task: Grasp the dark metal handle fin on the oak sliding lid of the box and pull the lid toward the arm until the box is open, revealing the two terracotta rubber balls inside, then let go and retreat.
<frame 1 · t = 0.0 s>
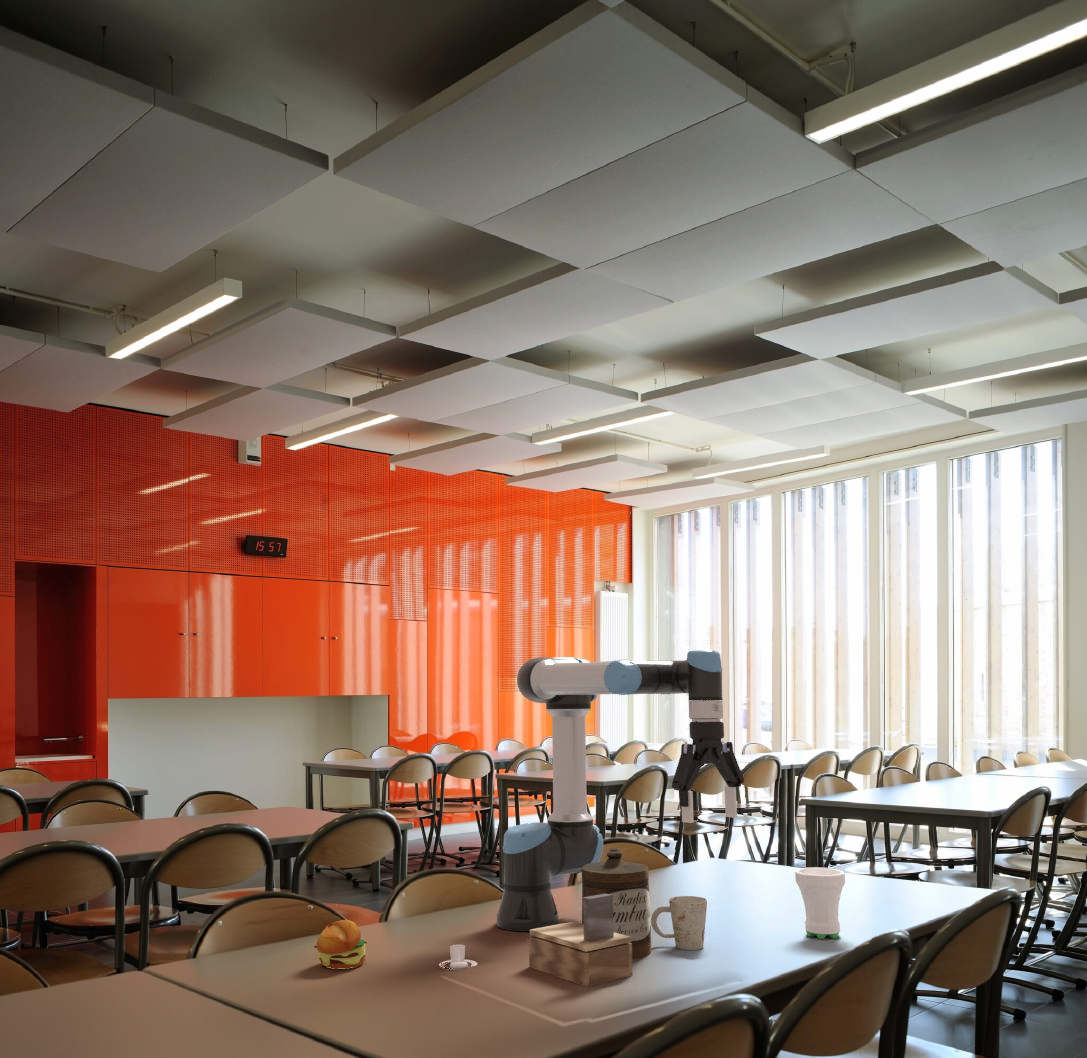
hand: (710, 819, 221), 28 cm above the table, fingers open, 13 cm apart
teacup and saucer: (445, 970, 210), on the table
lid: (579, 915, 206), point 11 cm above the table, slide at 0.0 cm
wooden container: (616, 955, 219), on the table
ball a: (580, 976, 200), point 1 cm above the table, touching box
mug: (679, 947, 225), on the table
cheeseburger: (341, 966, 212), on the table
box: (580, 974, 204), on the table
ball b: (605, 973, 202), point 1 cm above the table, touching box
cup: (823, 936, 233), on the table
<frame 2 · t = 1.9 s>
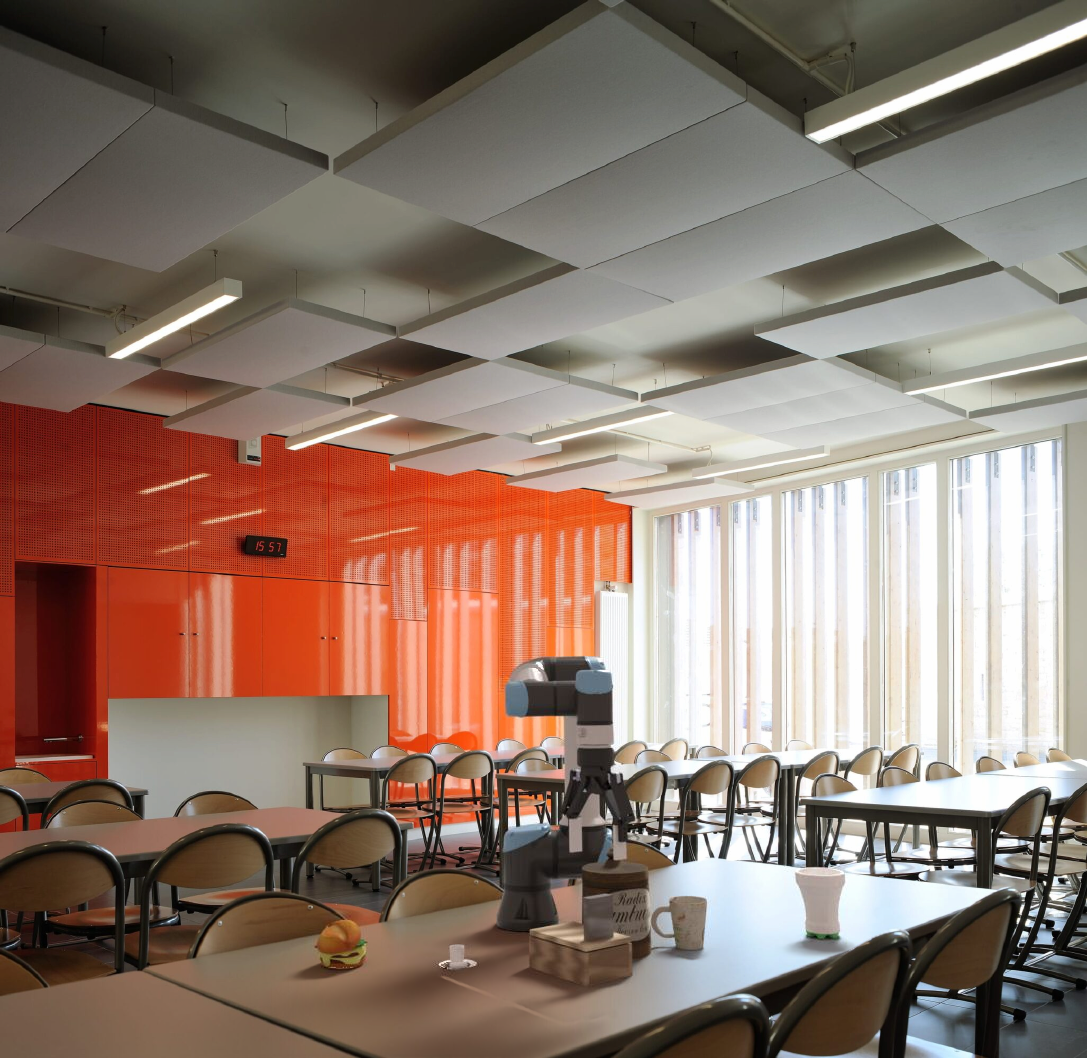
hand: (597, 855, 203), 24 cm above the table, fingers open, 13 cm apart
nothing on the table moved.
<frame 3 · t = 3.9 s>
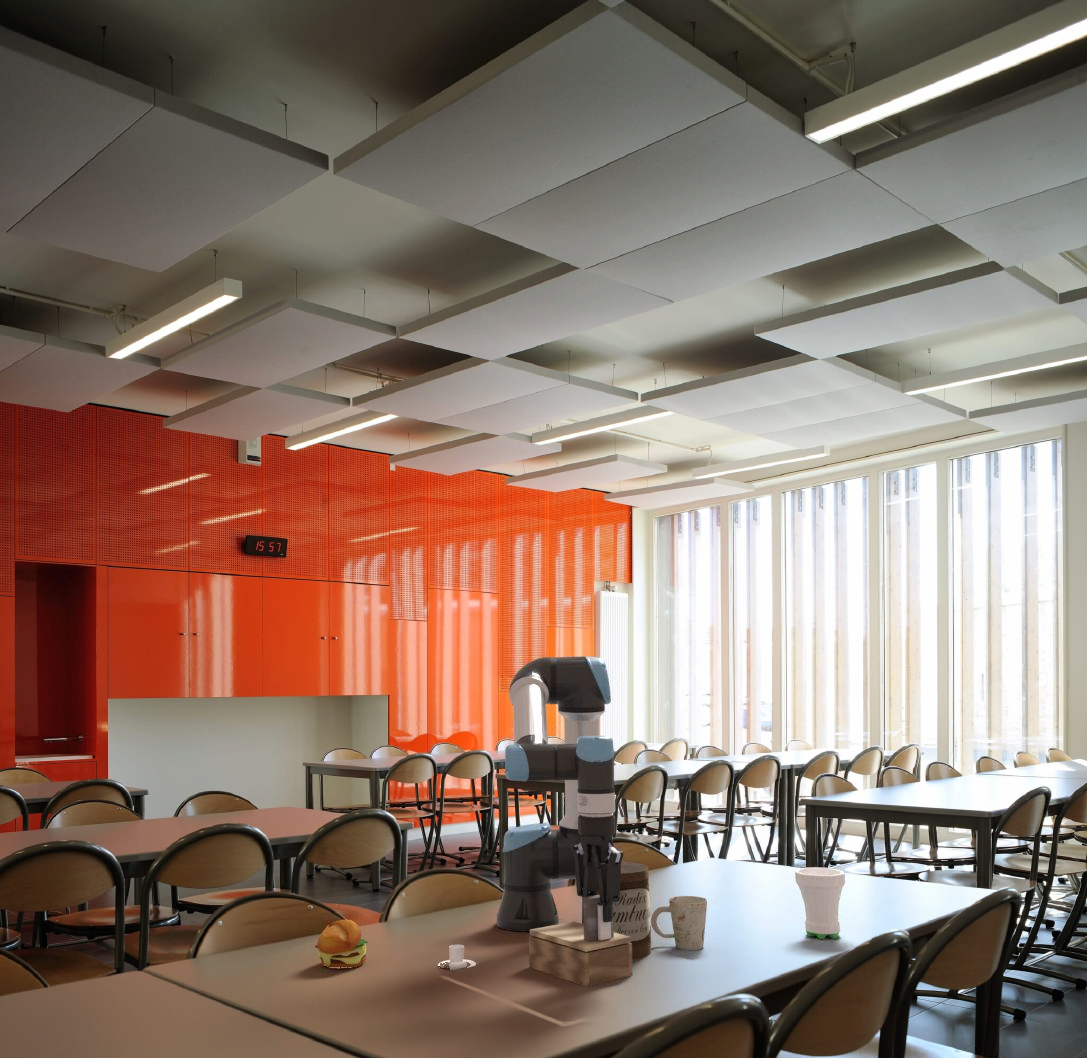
hand: (598, 937, 200), 8 cm above the table, fingers closed on lid, 3 cm apart
lid: (579, 915, 206), point 11 cm above the table, slide at 0.0 cm, touching gripper
everything else where it was.
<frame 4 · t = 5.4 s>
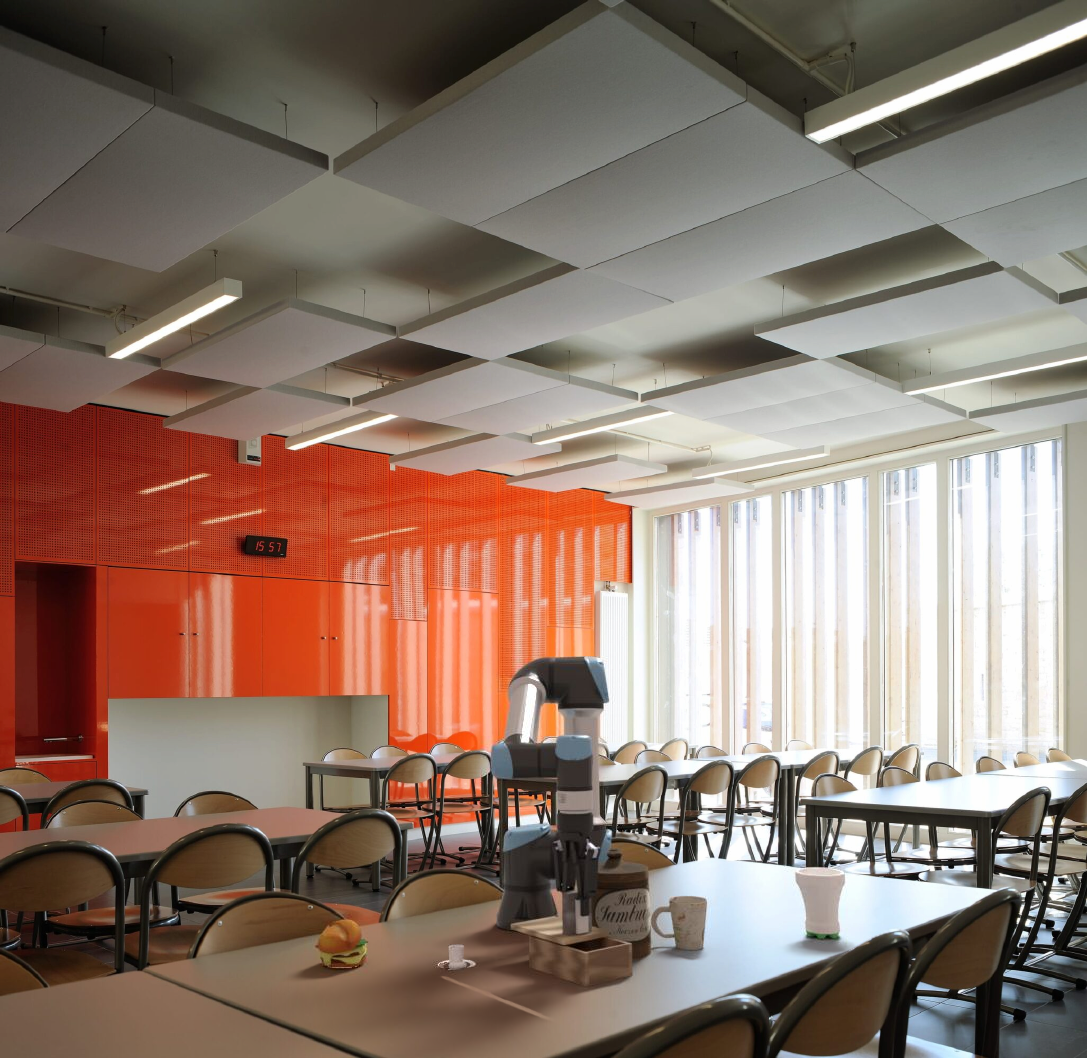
hand: (576, 930, 206), 8 cm above the table, fingers closed on lid, 3 cm apart
lid: (558, 909, 211), point 11 cm above the table, slide at 6.7 cm, touching gripper
everything else where it was.
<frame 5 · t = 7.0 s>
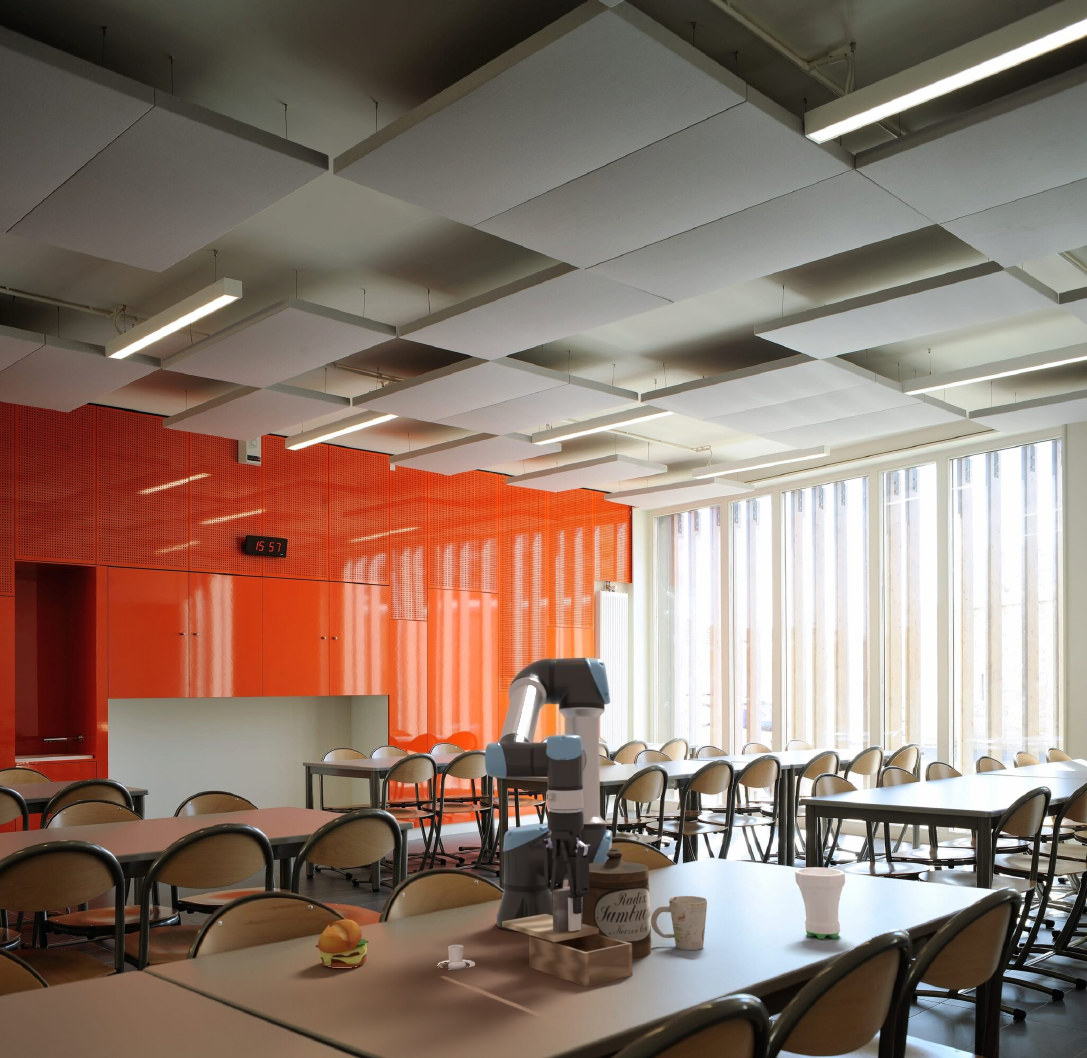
hand: (567, 927, 208), 8 cm above the table, fingers open, 4 cm apart
lid: (549, 907, 213), point 11 cm above the table, slide at 9.8 cm
everything else where it was.
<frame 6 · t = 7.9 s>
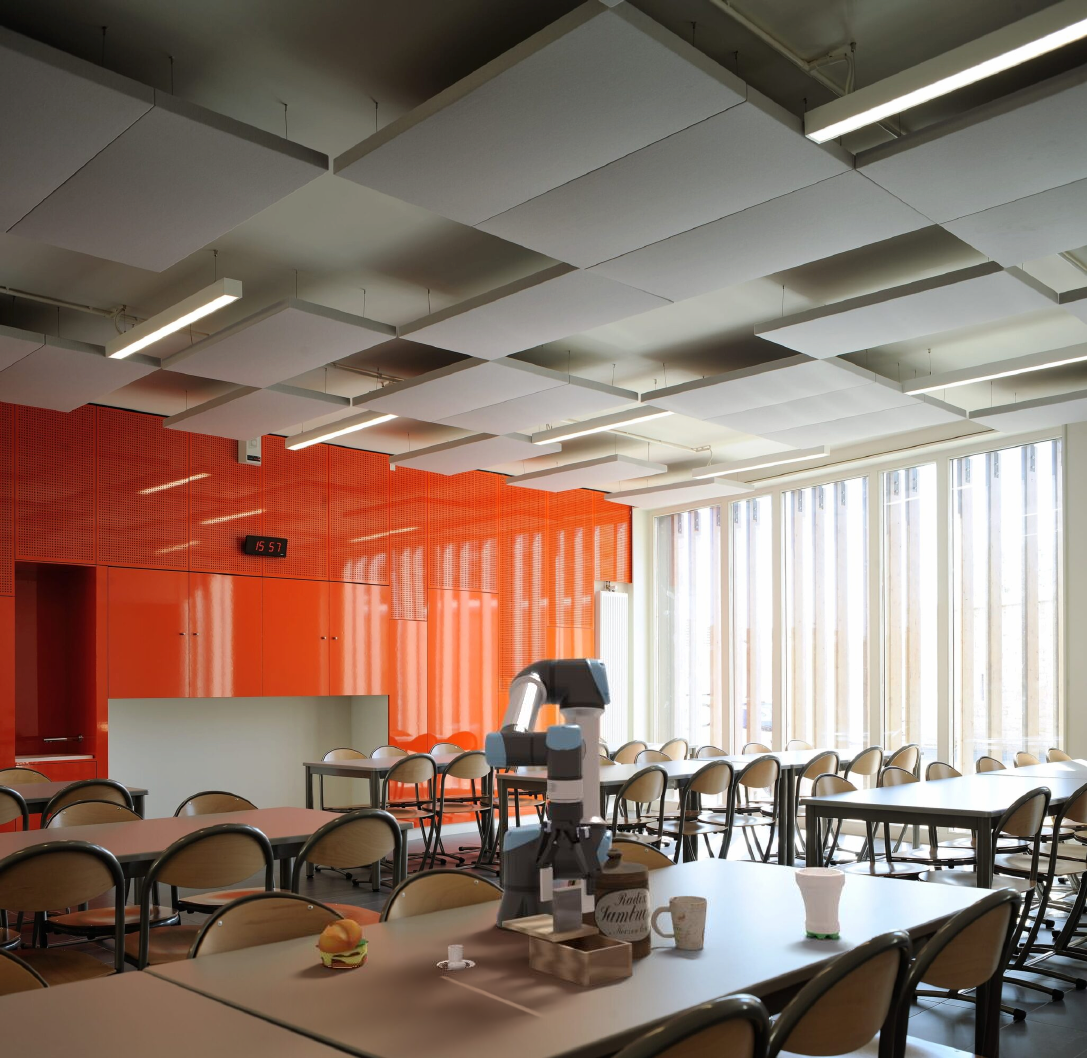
hand: (566, 906, 209), 12 cm above the table, fingers open, 13 cm apart
nothing on the table moved.
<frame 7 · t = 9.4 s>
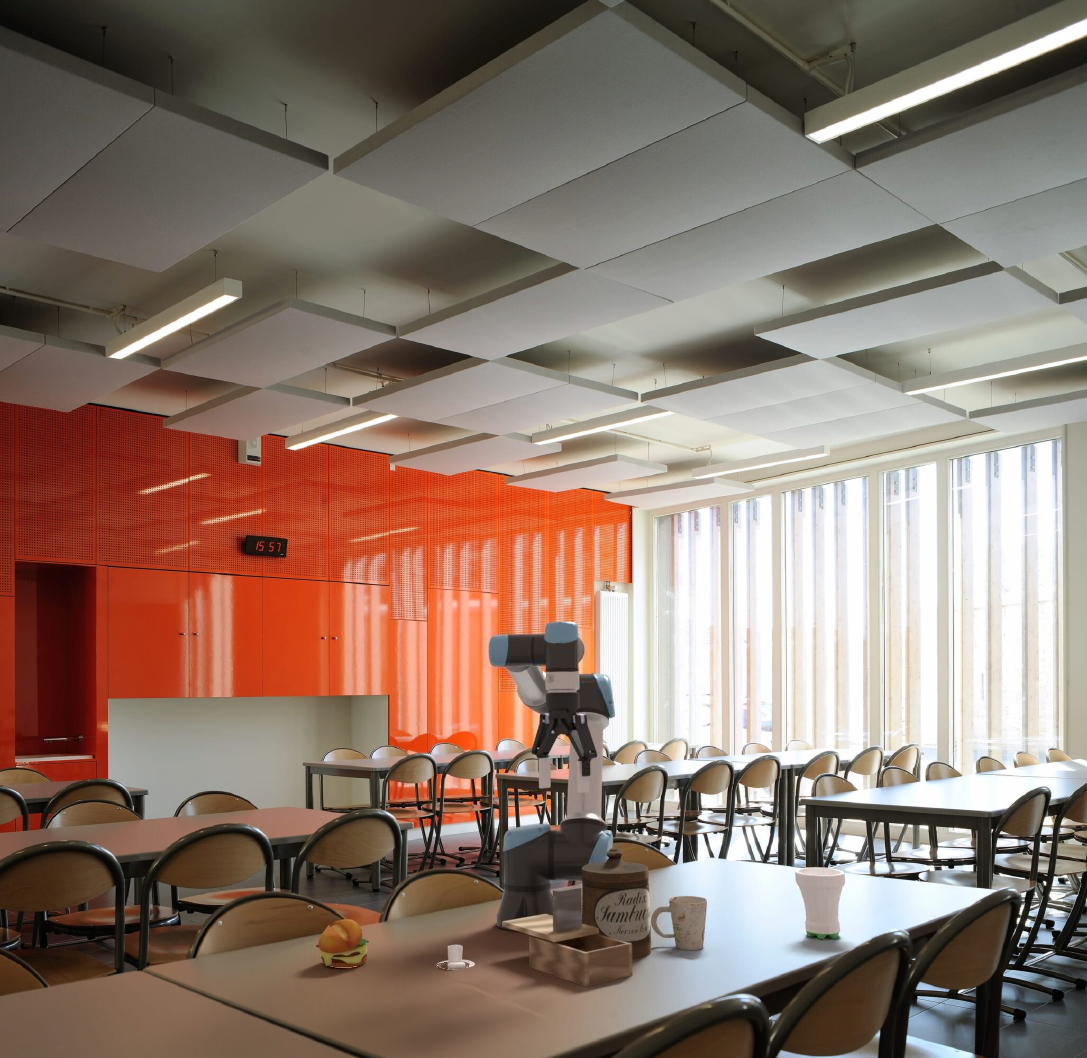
hand: (563, 790, 222), 35 cm above the table, fingers open, 13 cm apart
nothing on the table moved.
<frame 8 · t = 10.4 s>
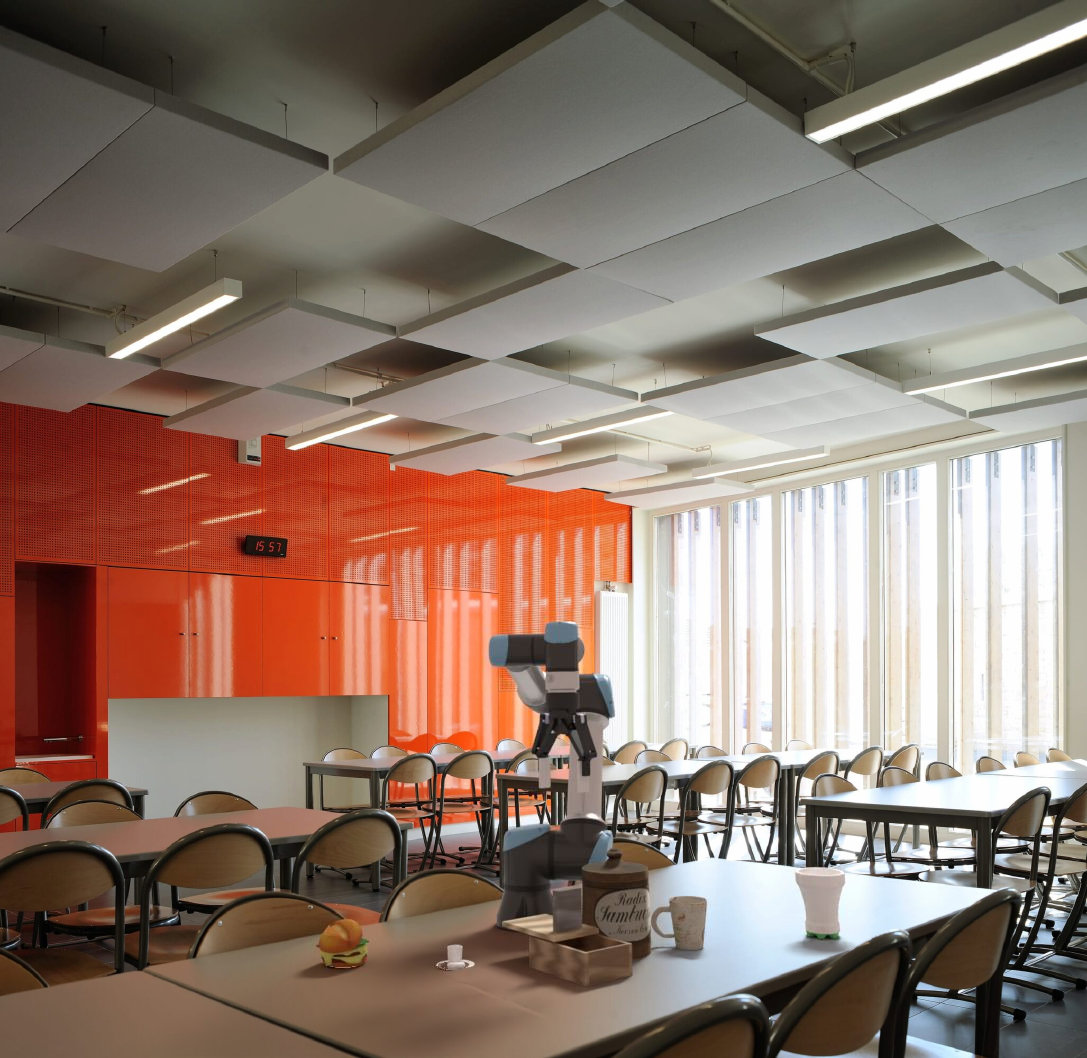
hand: (563, 790, 222), 35 cm above the table, fingers open, 13 cm apart
nothing on the table moved.
at the end: lid slide at 9.8 cm; the gripper is holding nothing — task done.
